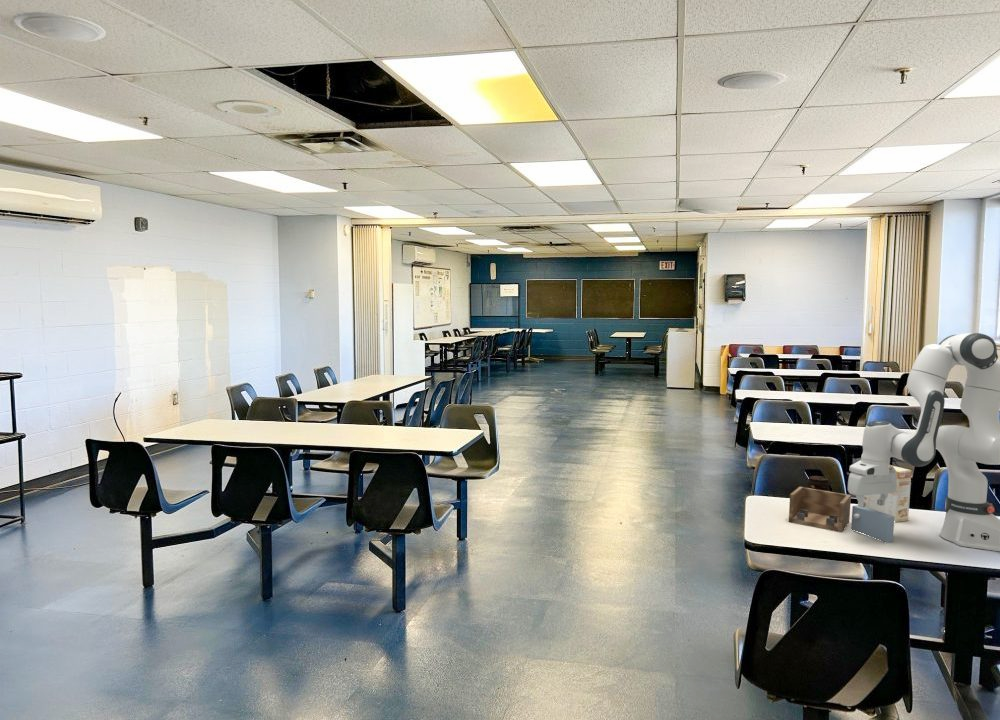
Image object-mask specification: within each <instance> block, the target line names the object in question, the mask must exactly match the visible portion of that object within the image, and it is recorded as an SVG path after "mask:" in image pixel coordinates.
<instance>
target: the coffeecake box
mask: <svg viewBox="0 0 1000 720" xmlns="http://www.w3.org/2000/svg"><path fill="white" fill-rule="evenodd" d="M889 466H893V467H894V468H895V470H896V475H897V490H896V492H894V493H888V497H887V498H886V500H885V504H884V505H883V506H880V505H878V504H877V500H879V498H880V496H881V495H880V494H872V495H864V498H863V501H864V502H865V503H866V504H865V507H867V508H870V509H873V510H876V511H879V512H882V513H885V514H888V515H891V516H895V517H894V521H895V522H894V523H899V522H898V521H902V522H907V521H906V520H908V521H909V512H910V498H911V496H910V495H911V485H912V484H911V481H912V480H911V479H912V470H911V469H908V468H904V467H900V466H896V465H891V464H890V465H889Z"/></svg>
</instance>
